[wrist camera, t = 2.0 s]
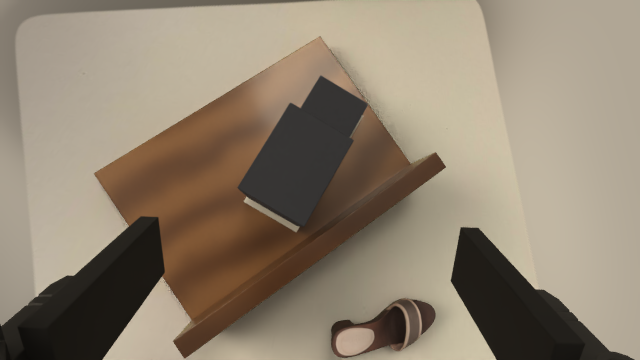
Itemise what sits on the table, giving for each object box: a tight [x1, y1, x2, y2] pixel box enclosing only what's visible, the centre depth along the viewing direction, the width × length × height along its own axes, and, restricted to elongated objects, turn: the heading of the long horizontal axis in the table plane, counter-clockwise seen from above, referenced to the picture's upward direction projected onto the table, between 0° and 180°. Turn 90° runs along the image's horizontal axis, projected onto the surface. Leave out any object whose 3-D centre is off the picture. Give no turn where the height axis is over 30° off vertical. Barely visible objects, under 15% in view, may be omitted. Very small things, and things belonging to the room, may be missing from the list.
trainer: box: [237, 75, 368, 232], centre depth 30 cm, size 13×6×11 cm, turn 150°
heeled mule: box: [331, 298, 435, 358], centre depth 35 cm, size 4×11×4 cm, turn 99°
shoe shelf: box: [94, 37, 446, 358], centre depth 33 cm, size 18×26×8 cm
